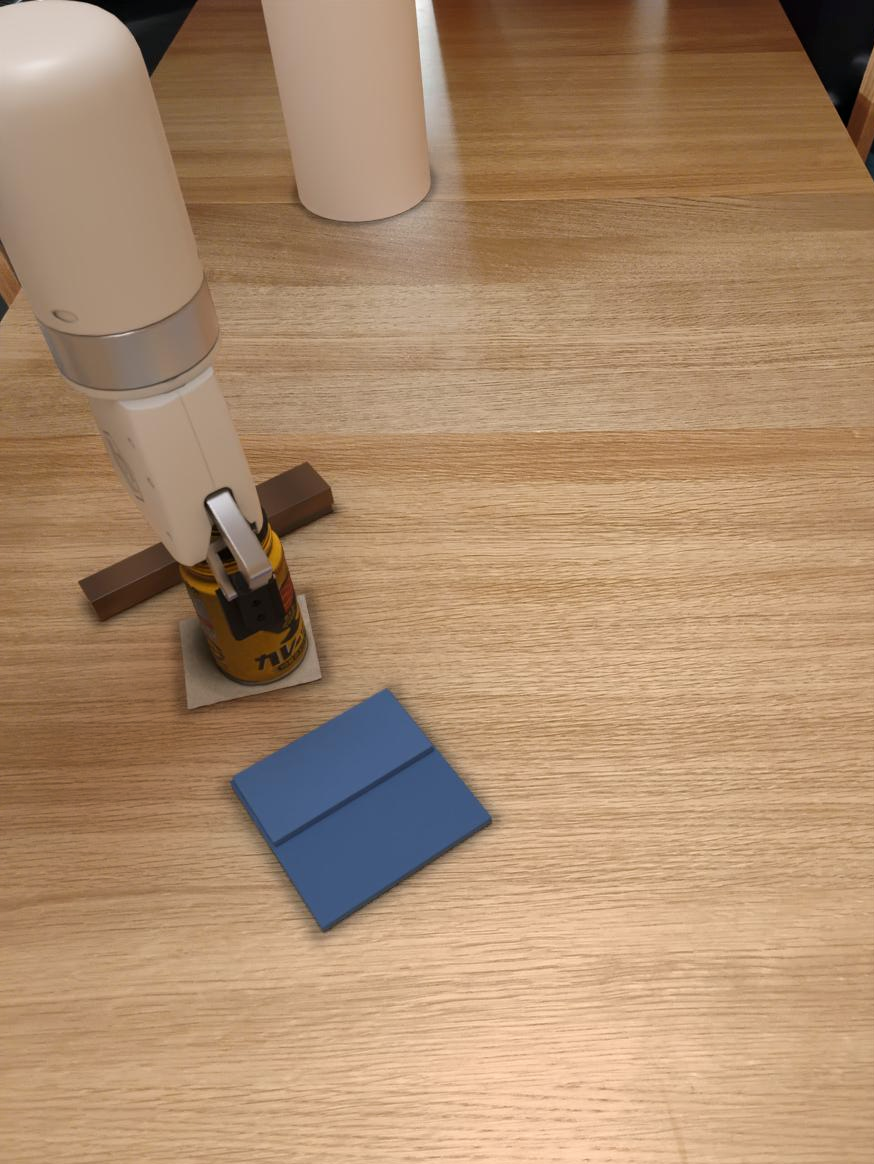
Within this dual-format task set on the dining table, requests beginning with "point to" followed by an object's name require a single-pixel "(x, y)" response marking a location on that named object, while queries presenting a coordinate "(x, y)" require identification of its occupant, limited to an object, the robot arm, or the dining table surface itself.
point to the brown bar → (155, 568)
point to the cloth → (358, 806)
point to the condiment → (258, 659)
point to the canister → (351, 104)
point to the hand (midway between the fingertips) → (223, 577)
